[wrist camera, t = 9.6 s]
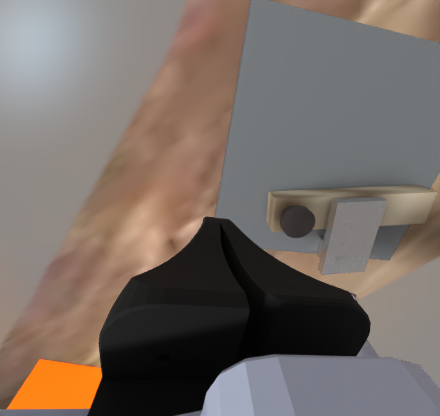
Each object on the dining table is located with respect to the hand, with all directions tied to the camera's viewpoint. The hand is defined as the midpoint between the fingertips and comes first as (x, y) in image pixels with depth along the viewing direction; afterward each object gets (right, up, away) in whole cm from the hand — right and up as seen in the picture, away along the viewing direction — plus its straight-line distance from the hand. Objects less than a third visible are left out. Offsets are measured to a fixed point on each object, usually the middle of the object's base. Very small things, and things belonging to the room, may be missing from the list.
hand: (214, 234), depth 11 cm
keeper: (+11, 0, +10) cm, 15 cm away
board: (+11, +6, +9) cm, 15 cm away
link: (+12, +2, +9) cm, 15 cm away
